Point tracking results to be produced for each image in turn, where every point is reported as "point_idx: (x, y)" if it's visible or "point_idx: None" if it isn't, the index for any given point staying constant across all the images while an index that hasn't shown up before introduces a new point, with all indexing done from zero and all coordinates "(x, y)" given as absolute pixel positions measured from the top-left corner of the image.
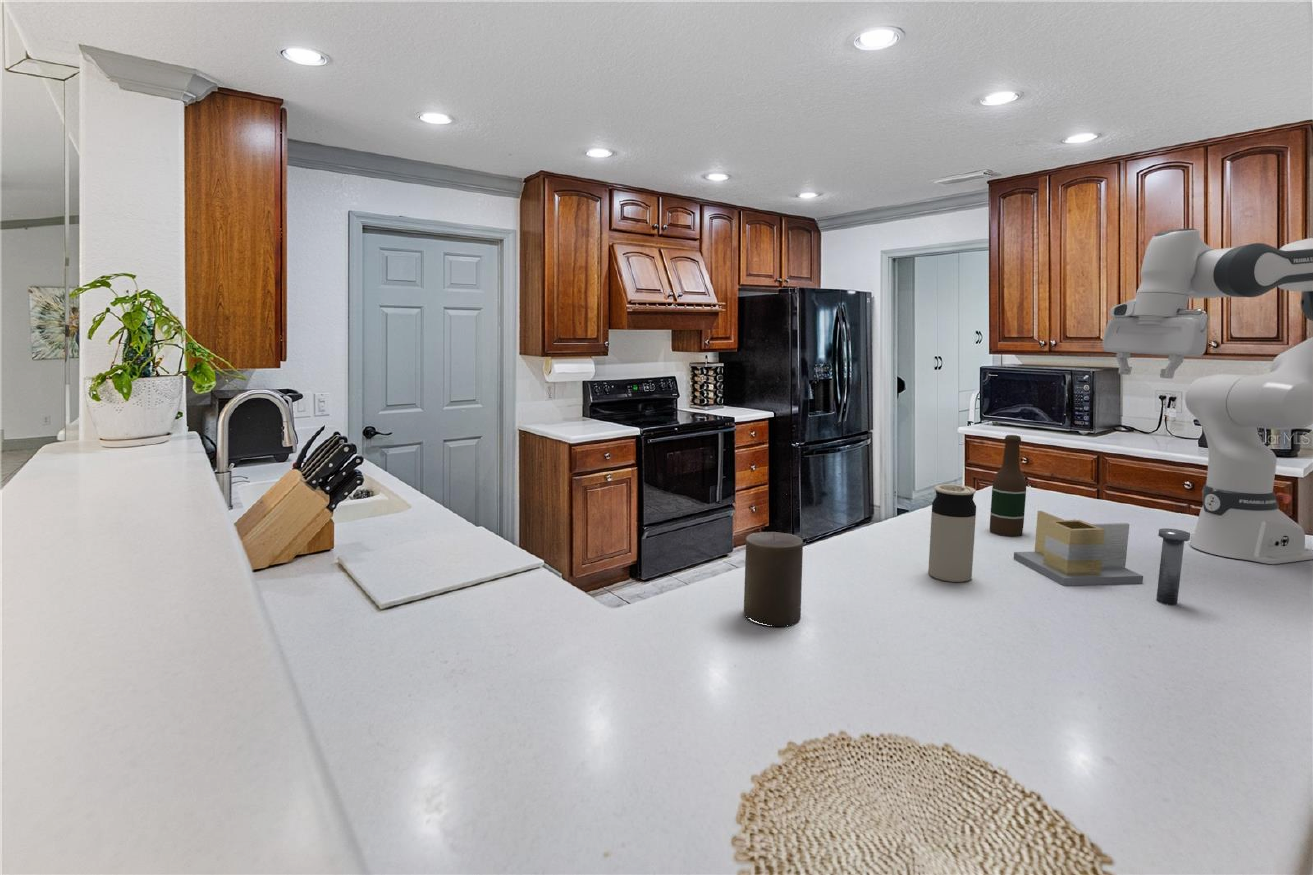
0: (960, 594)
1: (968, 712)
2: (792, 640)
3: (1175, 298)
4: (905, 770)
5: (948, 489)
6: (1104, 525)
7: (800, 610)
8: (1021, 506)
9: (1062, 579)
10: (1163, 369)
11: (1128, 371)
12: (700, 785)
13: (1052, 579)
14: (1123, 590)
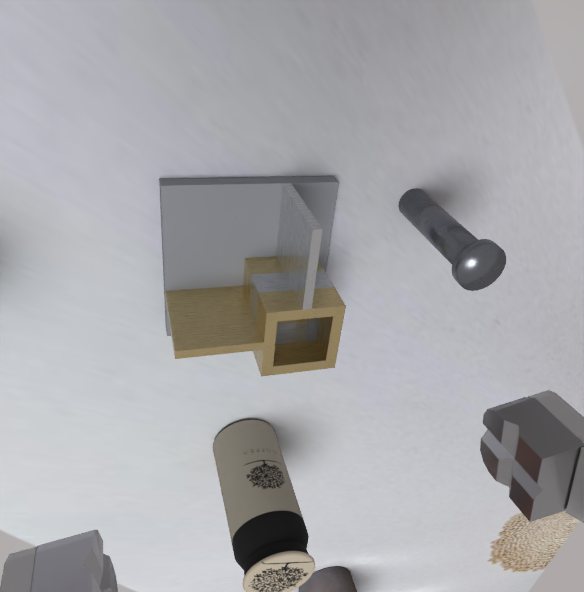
0: (312, 443)
1: (508, 487)
2: (375, 567)
3: None
4: None
5: (287, 584)
6: (314, 285)
7: (342, 575)
8: None
9: None
10: (548, 510)
11: (101, 575)
12: (500, 584)
13: None
14: (353, 234)
